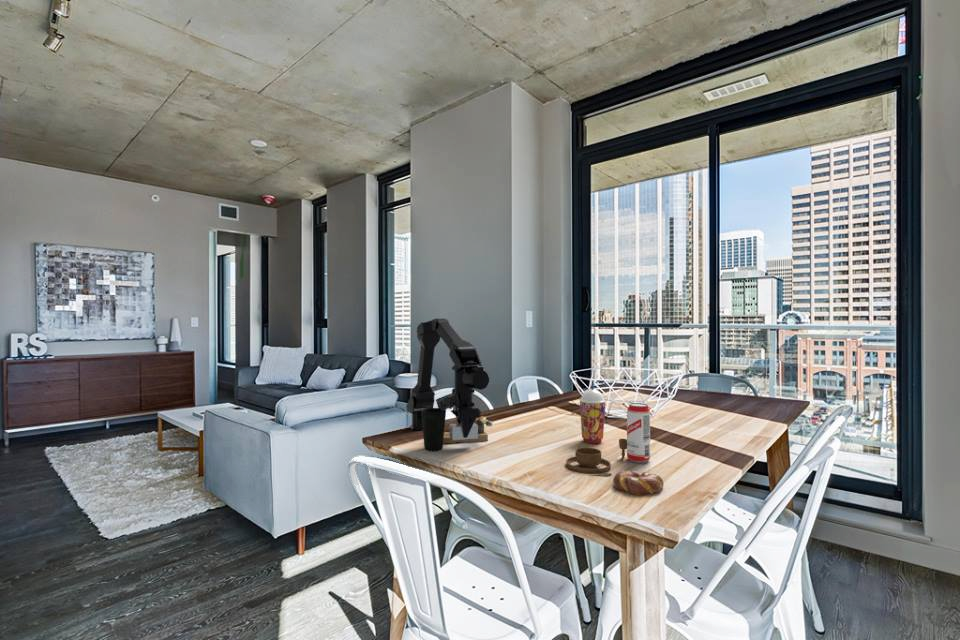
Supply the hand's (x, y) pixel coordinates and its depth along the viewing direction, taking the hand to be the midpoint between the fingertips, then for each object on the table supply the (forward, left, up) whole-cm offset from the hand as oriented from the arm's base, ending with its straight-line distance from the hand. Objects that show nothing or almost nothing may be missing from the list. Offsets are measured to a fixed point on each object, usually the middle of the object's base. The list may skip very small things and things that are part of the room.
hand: (463, 435), depth 148 cm
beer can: (+25, +45, -4) cm, 52 cm away
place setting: (+27, +33, -5) cm, 43 cm away
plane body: (-10, +2, -4) cm, 11 cm away
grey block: (0, 0, -1) cm, 1 cm away
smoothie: (+3, +43, -4) cm, 43 cm away
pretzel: (+44, +32, -5) cm, 55 cm away
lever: (-9, +9, +2) cm, 13 cm away
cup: (-2, -9, -4) cm, 10 cm away
